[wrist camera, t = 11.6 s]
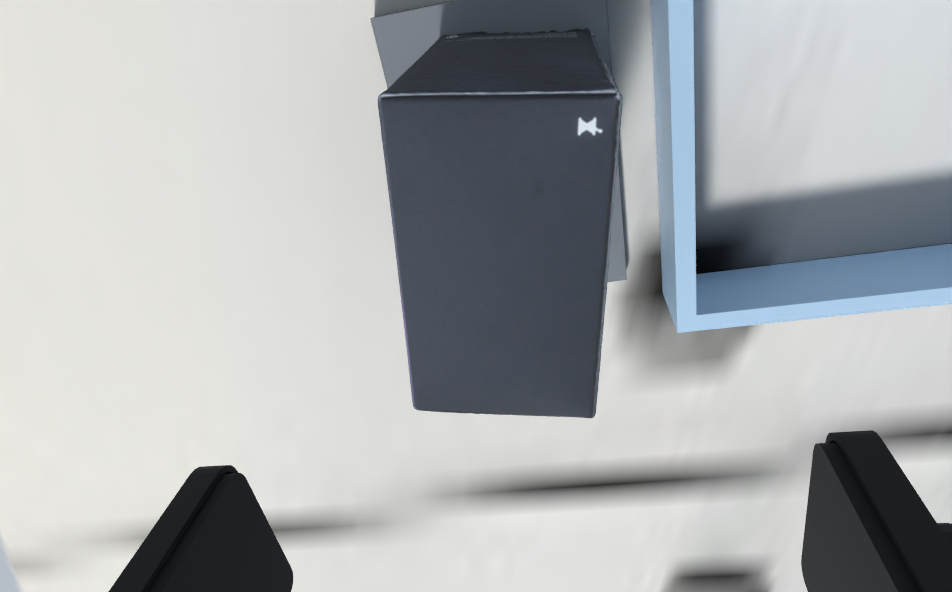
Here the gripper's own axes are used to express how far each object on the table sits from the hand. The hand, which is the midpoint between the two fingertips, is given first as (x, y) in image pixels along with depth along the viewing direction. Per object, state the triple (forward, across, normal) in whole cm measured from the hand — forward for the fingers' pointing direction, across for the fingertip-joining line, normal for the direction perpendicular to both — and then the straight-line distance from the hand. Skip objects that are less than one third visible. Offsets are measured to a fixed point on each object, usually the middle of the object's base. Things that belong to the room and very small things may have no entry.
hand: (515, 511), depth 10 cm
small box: (+19, +1, 0) cm, 19 cm away
